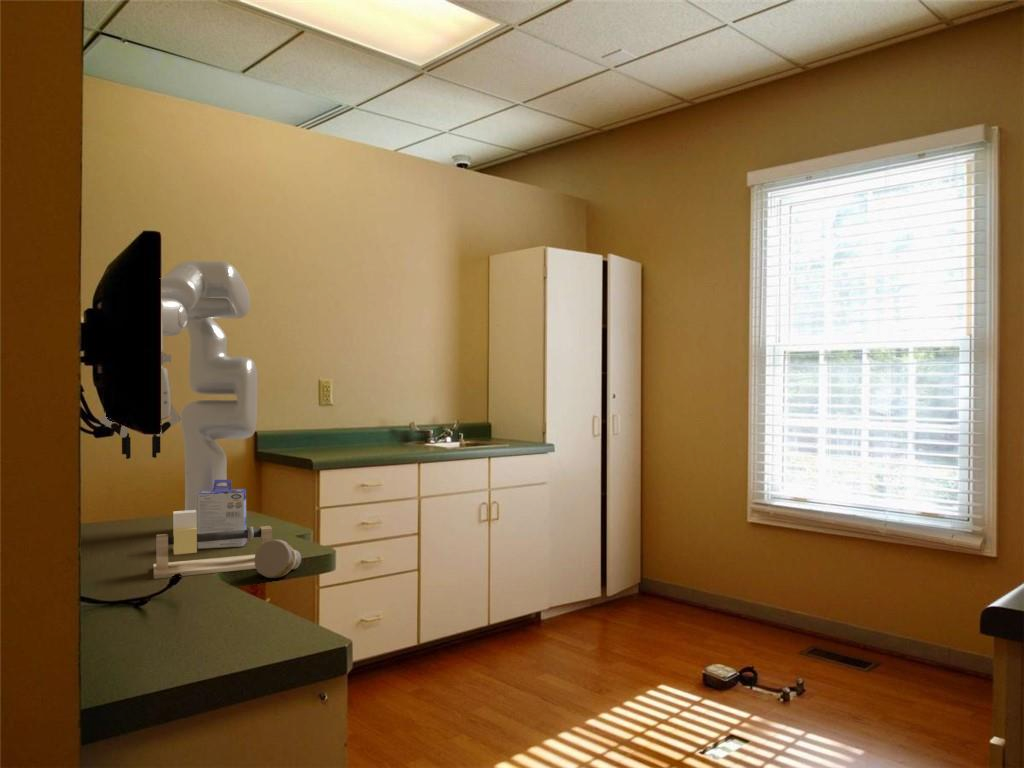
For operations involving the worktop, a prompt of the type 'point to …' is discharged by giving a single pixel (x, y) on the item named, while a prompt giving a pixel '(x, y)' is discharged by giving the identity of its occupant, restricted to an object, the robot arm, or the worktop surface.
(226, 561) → the roller holder rack
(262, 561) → the mug
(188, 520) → the sleeve
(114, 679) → the worktop surface
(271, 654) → the worktop surface
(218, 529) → the ink cartridge box
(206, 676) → the worktop surface
